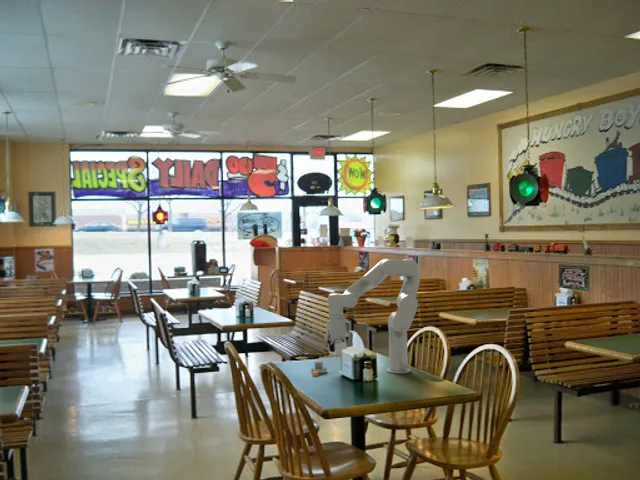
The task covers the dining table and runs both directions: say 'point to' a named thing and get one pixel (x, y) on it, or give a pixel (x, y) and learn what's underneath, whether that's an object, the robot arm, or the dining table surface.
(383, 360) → the dining table surface
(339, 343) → the socket
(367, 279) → the robot arm
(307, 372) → the dining table surface
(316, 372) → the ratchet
